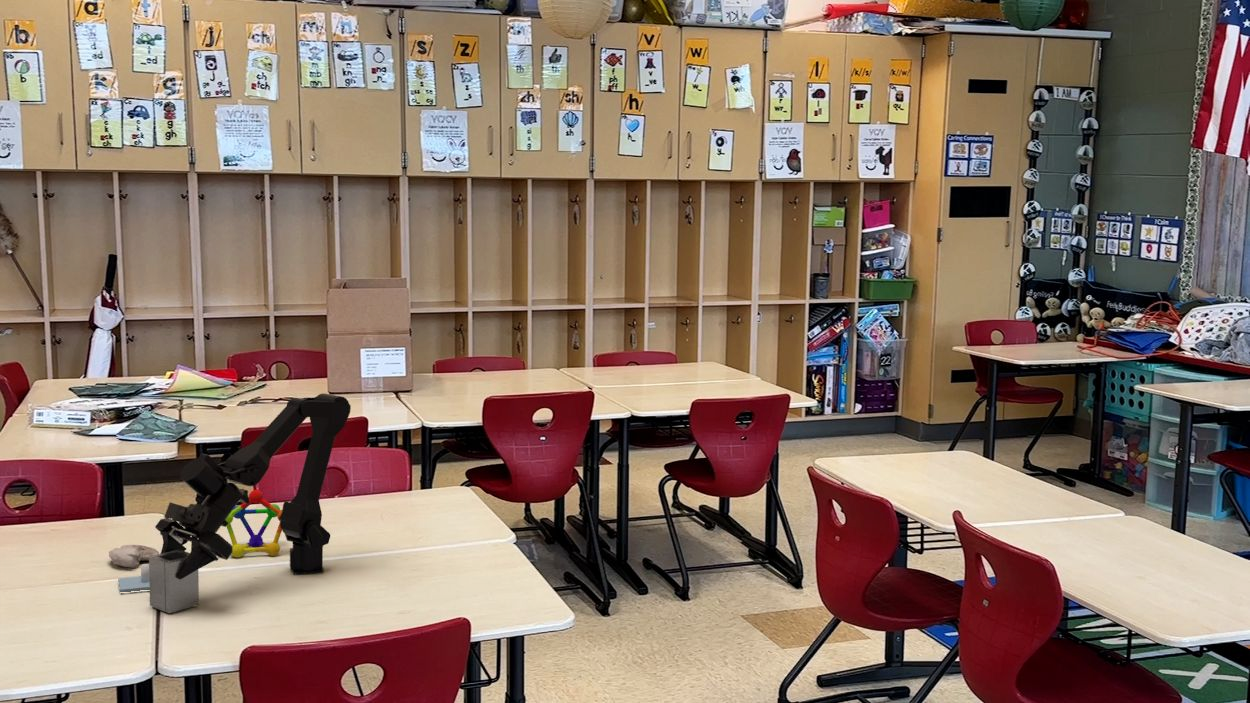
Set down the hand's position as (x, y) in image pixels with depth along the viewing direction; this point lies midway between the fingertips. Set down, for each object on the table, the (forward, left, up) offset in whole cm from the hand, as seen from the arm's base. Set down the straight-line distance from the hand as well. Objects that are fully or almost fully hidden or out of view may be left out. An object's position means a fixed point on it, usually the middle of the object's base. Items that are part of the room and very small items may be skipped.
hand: (167, 574), depth 230 cm
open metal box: (-1, -1, -7) cm, 7 cm away
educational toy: (-17, -37, -7) cm, 41 cm away
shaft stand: (+5, -16, -7) cm, 18 cm away
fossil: (+9, -33, -7) cm, 35 cm away
